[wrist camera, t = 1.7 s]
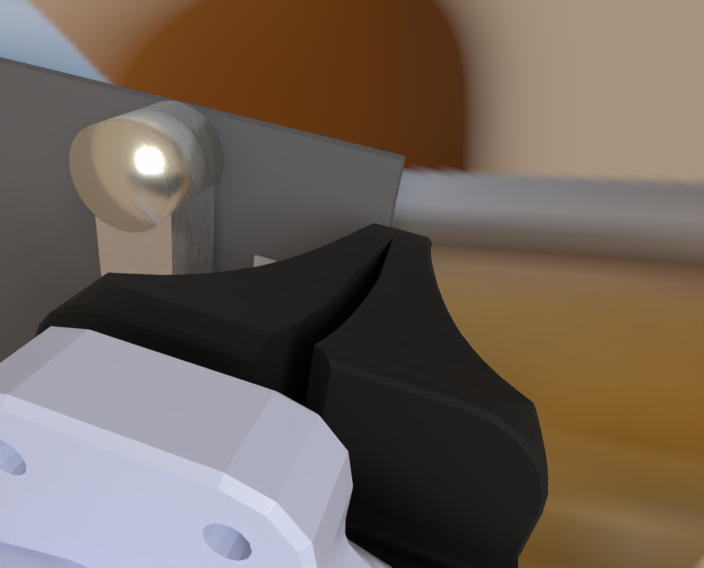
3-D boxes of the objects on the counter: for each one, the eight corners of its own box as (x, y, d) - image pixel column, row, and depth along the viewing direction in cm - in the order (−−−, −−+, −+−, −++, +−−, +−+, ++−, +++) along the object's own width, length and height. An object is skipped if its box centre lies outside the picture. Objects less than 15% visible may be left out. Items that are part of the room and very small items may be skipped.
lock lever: (227, 500, 20) (193, 558, 18) (140, 468, 21) (97, 521, 19) (247, 118, 13) (194, 145, 11) (112, 85, 13) (37, 104, 11)
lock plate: (321, 554, 21) (317, 566, 21) (-6, 431, 24) (-16, 439, 23) (405, 155, 13) (400, 162, 12) (-114, 29, 15) (-132, 31, 15)
